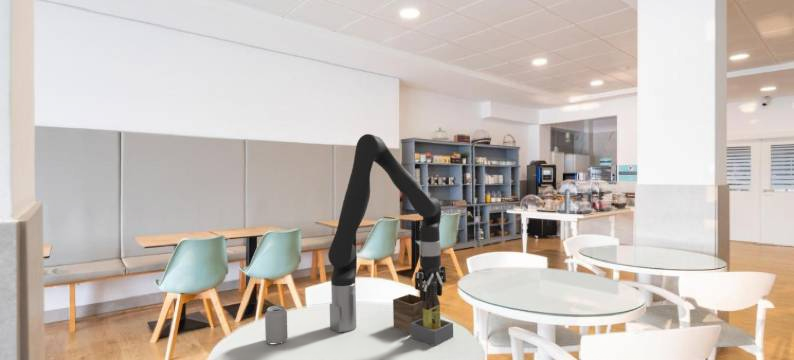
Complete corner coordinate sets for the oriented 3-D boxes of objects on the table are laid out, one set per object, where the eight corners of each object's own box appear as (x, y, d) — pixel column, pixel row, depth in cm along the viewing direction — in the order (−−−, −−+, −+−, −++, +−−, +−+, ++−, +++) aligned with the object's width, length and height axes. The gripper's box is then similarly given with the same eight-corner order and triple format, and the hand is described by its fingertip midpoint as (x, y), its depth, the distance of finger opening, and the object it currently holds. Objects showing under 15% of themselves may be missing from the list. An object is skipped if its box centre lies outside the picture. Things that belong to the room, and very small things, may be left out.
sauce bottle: (434, 342, 137) (433, 285, 136) (419, 338, 141) (418, 282, 140) (444, 335, 142) (443, 280, 142) (429, 331, 146) (428, 278, 145)
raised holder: (413, 333, 144) (412, 305, 144) (393, 326, 152) (393, 299, 151) (429, 326, 151) (428, 299, 151) (410, 320, 158) (409, 294, 158)
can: (267, 347, 136) (266, 312, 135) (264, 339, 142) (263, 306, 142) (289, 342, 139) (288, 309, 139) (285, 335, 146) (284, 303, 145)
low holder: (434, 346, 134) (434, 331, 134) (410, 336, 142) (410, 323, 142) (453, 336, 141) (452, 323, 141) (429, 328, 149) (429, 315, 149)
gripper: (434, 249, 149) (436, 291, 149) (408, 255, 139) (410, 301, 139) (450, 251, 143) (451, 295, 143) (424, 257, 133) (426, 305, 133)
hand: (431, 298), depth 141 cm, fingers open, 8 cm apart
